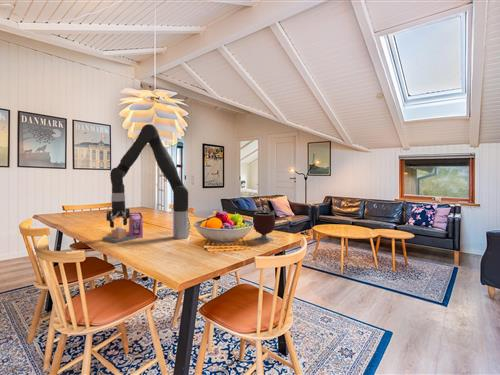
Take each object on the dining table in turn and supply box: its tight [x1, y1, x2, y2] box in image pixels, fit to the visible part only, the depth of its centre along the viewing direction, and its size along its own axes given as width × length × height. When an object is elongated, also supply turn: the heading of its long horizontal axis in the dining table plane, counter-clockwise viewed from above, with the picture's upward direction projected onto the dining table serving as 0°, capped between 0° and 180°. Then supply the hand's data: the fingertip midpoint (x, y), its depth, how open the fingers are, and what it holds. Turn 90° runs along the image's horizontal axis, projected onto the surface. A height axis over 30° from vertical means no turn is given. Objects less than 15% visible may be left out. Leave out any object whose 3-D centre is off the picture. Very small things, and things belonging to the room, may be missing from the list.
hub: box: [110, 228, 127, 239], centre depth 169 cm, size 5×7×4 cm
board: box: [102, 226, 136, 244], centre depth 169 cm, size 13×13×8 cm
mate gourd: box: [252, 209, 277, 243], centre depth 174 cm, size 16×14×20 cm
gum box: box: [128, 212, 144, 239], centre depth 183 cm, size 24×8×14 cm, turn 25°
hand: (118, 226), depth 169 cm, fingers open, 8 cm apart
